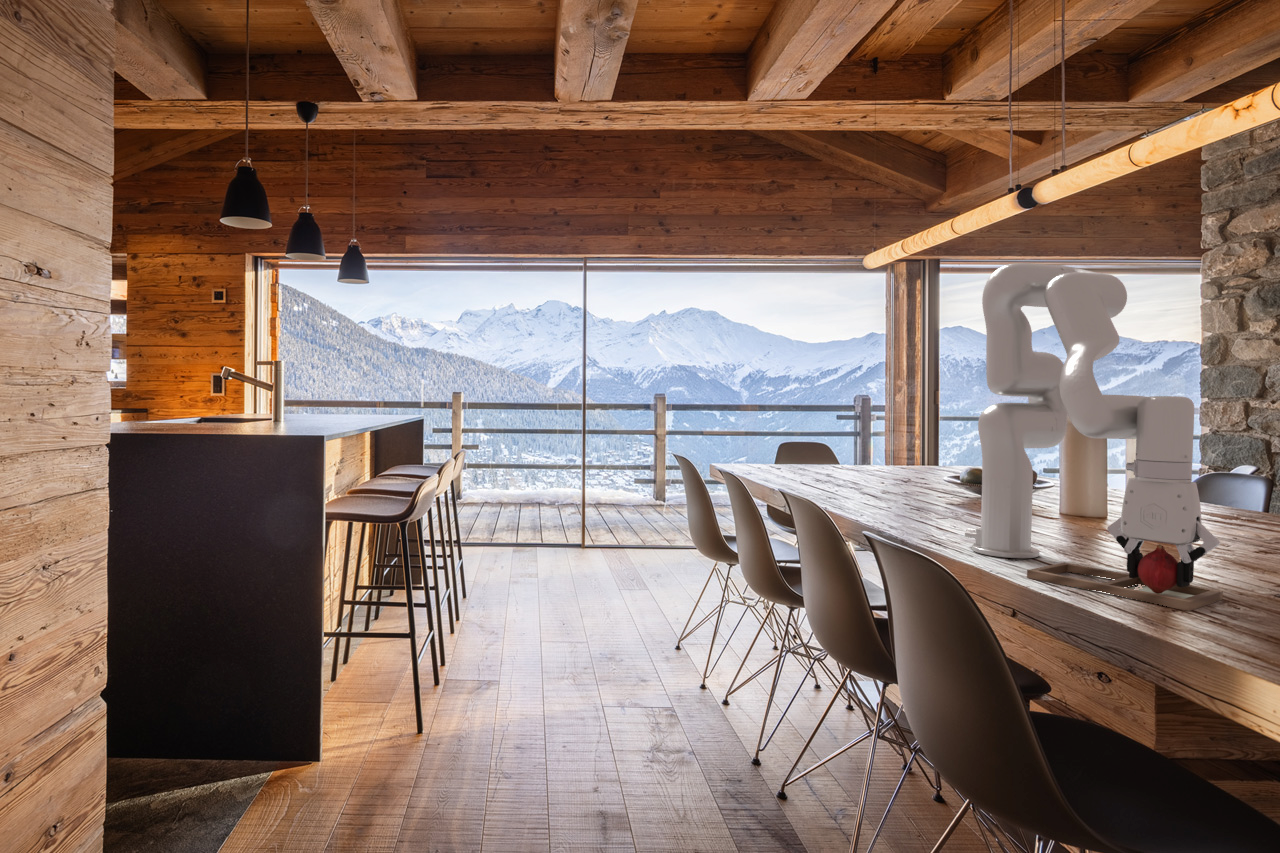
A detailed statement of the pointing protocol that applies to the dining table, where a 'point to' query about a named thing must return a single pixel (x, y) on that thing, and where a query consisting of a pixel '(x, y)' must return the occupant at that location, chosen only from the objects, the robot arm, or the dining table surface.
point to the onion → (1158, 570)
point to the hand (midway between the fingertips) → (1158, 580)
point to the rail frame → (1172, 597)
